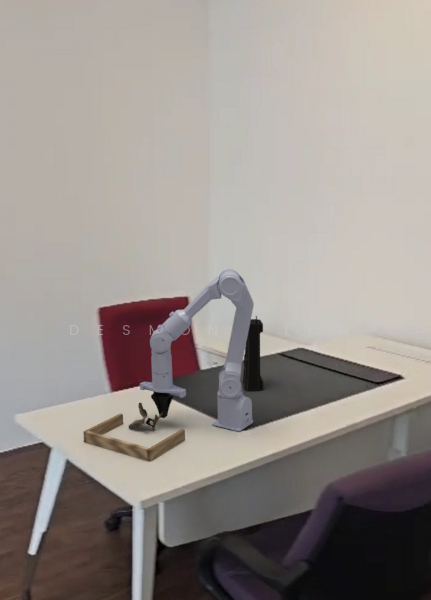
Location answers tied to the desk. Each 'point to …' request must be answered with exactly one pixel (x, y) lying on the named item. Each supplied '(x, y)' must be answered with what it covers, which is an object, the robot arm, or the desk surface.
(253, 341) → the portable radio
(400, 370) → the desk surface
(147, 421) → the eagle figurine
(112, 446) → the box
